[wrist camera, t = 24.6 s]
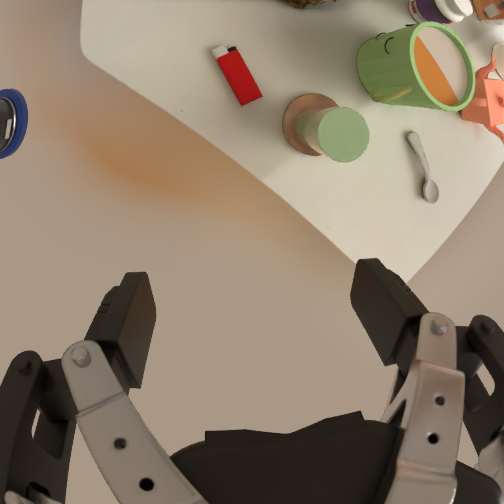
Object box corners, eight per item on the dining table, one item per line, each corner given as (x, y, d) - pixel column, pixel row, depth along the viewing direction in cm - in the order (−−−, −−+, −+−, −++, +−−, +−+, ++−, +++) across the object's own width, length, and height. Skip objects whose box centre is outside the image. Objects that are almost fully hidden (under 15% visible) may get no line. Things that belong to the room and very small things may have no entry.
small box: (464, -15, 18) (502, -22, 8) (480, -9, 17) (516, -13, 8) (479, 21, 22) (519, 18, 12) (493, 26, 21) (532, 25, 12)
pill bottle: (429, 34, 25) (472, 27, 16) (403, 11, 23) (445, -3, 15) (437, 14, 23) (478, 6, 14) (412, -8, 21) (451, -22, 13)
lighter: (241, 106, 29) (210, 50, 25) (240, 106, 30) (210, 52, 26) (263, 96, 29) (232, 40, 25) (262, 96, 30) (232, 42, 26)
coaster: (282, 154, 33) (283, 155, 33) (282, 92, 30) (283, 91, 29) (341, 156, 34) (343, 157, 33) (343, 97, 30) (346, 96, 29)
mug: (384, 24, 25) (438, 6, 14) (427, 81, 29) (485, 84, 18) (327, 69, 28) (373, 55, 18) (377, 129, 32) (432, 143, 22)
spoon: (424, 204, 38) (431, 208, 36) (399, 136, 34) (407, 137, 32) (436, 196, 38) (443, 200, 36) (413, 128, 33) (421, 129, 31)
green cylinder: (343, 132, 32) (379, 141, 24) (312, 157, 33) (339, 173, 25) (318, 98, 29) (349, 96, 22) (285, 124, 31) (306, 129, 23)
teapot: (456, 143, 34) (492, 155, 26) (439, 54, 26) (476, 51, 19) (493, 135, 33) (525, 146, 25) (481, 57, 25) (514, 59, 18)
